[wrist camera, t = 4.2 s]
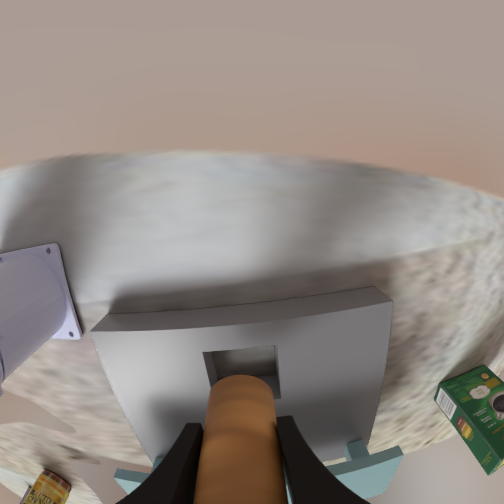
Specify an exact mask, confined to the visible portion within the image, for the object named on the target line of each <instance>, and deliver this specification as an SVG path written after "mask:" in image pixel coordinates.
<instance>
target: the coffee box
mask: <svg viewBox="0 0 504 504" xmlns="http://www.w3.org/2000/svg"><path fill="white" fill-rule="evenodd" d="M434 401H435V402H436V403H437V404H438V406H439V407H440V408H441V410H442V411H443V413H444V414H445V415H446V417H447V418H448V419H449V421H450V422H451V423H452V425H453V426H454V427H455V429H456V430H457V432H458V433H459V434H460V435H461V437H462V438H463V440H464V441H465V443H466V444H467V445H468V447H469V448H470V450H471V451H472V453H473V454H474V456H475V457H476V459H477V460H478V461H479V463H480V464H481V466H482V467H483V469H484V471H485V472H486V473H487V475H488V476H489V475H491V474H492V473H493V472H495V471H496V470H497V469H499V468H500V467H501V466H503V465H504V382H503V381H502V380H501V379H500V378H499V377H498V376H496V375H495V374H494V373H493V372H492V371H491V370H490V369H489V368H487V367H486V366H485V365H482V366H480V367H478V368H475V369H473V370H472V371H470V372H467V373H465V374H462V375H460V376H458V377H455V378H452V379H449V380H448V381H445V382H443V383H440V384H439V387H438V389H437V392H436V395H435V398H434Z"/></svg>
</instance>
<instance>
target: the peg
mask: <svg viewBox="0 0 504 504" xmlns="http://www.w3.org/2000/svg"><path fill="white" fill-rule="evenodd" d="M193 504H289V502H288V495H287V488H286V481H285V474H284V467H283V460H282V453H281V448H280V443H279V437H278V430H277V422H276V411H275V404H274V398H273V392H272V390H271V388H270V387H269V386H268V384H267V383H265V382H264V381H263V380H261V379H259V378H256V377H254V376H250V375H232V376H228V377H225V378H223V379H221V380H219V381H218V382H216V383H215V384H214V385H213V387H212V388H211V390H210V394H209V400H208V406H207V413H206V419H205V425H204V432H203V438H202V445H201V452H200V458H199V465H198V472H197V479H196V486H195V493H194V501H193Z"/></svg>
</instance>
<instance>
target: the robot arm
mask: <svg viewBox="0 0 504 504" xmlns="http://www.w3.org/2000/svg"><path fill="white" fill-rule="evenodd" d="M49 249H50V250H51V253H50V252H49ZM71 332H72V333H73V334H74V335H73V334H72V333H71ZM81 337H82V331H81V328H80V325H79V322H78V319H77V316H76V313H75V310H74V306H73V303H72V299H71V296H70V292H69V288H68V284H67V280H66V276H65V272H64V268H63V263H62V259H61V254H60V249H59V246H58V245H57V244H56V243H52V244H46V245H41V246H36V247H31V248H26V249H21V250H17V251H12V252H7V253H3V254H0V396H1V395H2V394H3V391H2V387H1V384H2V382H3V381H4V380H5V379H6V378H7V377H8V376H9V375H10V374H11V373H13V372H14V371H15V370H16V369H17V368H18V367H19V366H20V365H21V364H22V363H23V362H24V361H25V360H26V359H28V358H29V357H30V356H31V355H32V354H33V353H34V352H35V351H36V350H37V349H39V348H40V347H41V346H42V345H43V344H44V343H45V342H46V341H48V340H49V339H50V338H55V339H75V340H78V339H80V338H81ZM276 422H277V430H278V437H279V443H280V448H281V453H282V460H283V467H284V474H285V479H286V483H287V487H288V491H289V494H290V498H291V502H292V504H370V503H369V502H367V501H366V500H364V499H363V498H361V497H360V496H358V495H357V494H356V493H354V492H353V491H352V490H350V489H349V488H348V487H346V486H345V485H344V484H343V483H342V482H341V481H339V480H338V479H337V478H336V477H335V476H334V475H333V474H332V473H331V472H330V471H329V470H328V469H327V468H326V467H325V466H324V465H323V463H322V462H321V461H320V460H319V459H318V457H317V456H316V455H315V454H314V452H313V451H312V450H311V448H310V447H309V445H308V444H307V442H306V441H305V439H304V438H303V436H302V434H301V433H300V431H299V429H298V427H297V425H296V423H295V421H294V418H293V416H291V415H288V416H281V417H276ZM203 432H204V430H203V428H202V425H201V423H187V424H185V426H184V428H183V430H182V431H181V433H180V435H179V436H178V438H177V440H176V441H175V443H174V444H173V446H172V447H171V449H170V450H169V451H168V453H167V454H166V456H165V457H164V458H163V460H162V461H161V462H160V463H159V465H158V466H157V467H156V468H155V470H154V471H153V472H152V473H151V474H150V475H149V476H148V477H147V478H146V479H145V480H144V481H143V482H142V483H141V484H140V485H139V486H138V487H137V488H136V489H135V490H133V491H132V492H131V493H130V494H129V495H127V496H126V497H125V498H123V499H122V500H120V501H119V502H117V503H116V504H193V501H194V493H195V486H196V479H197V472H198V465H199V458H200V452H201V445H202V438H203Z"/></svg>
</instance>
